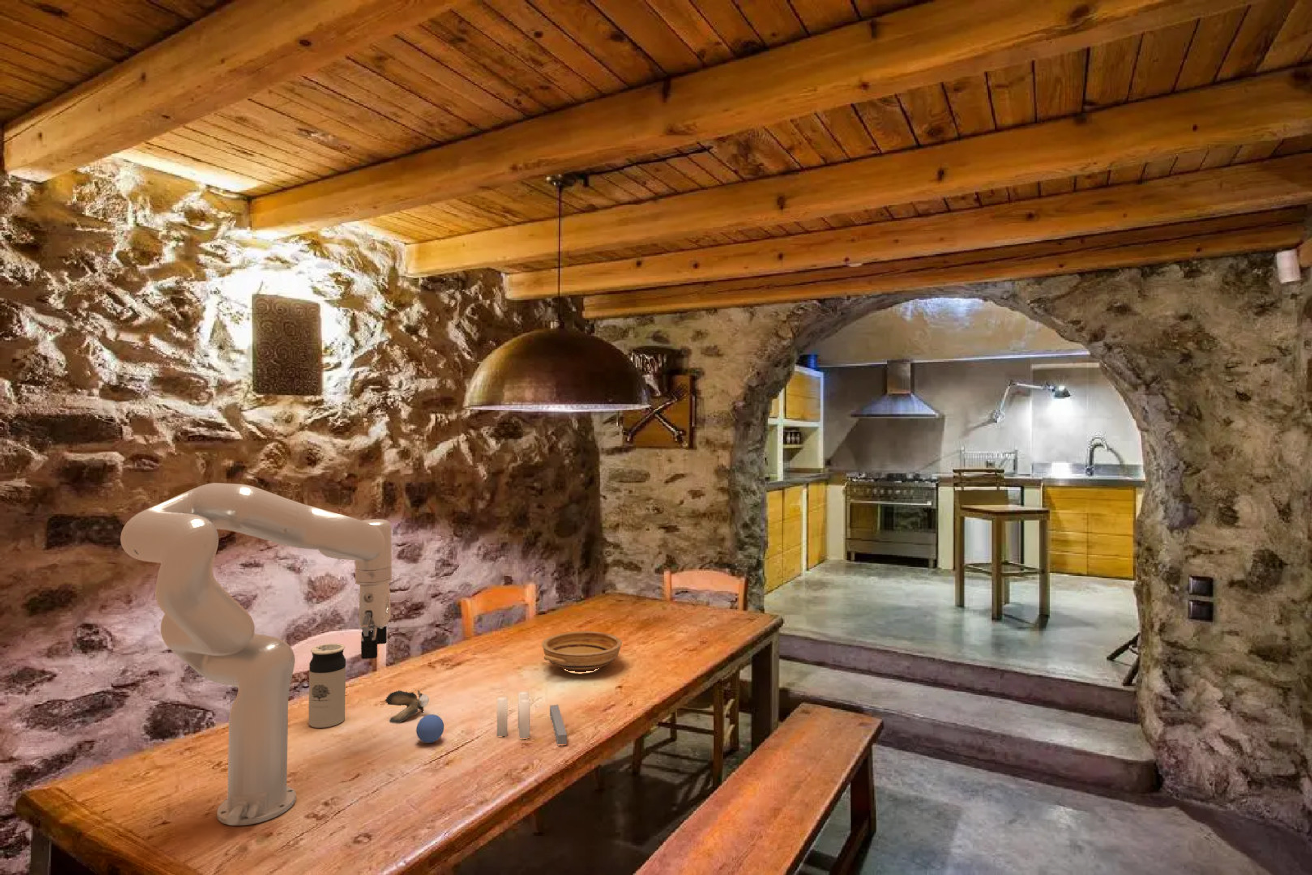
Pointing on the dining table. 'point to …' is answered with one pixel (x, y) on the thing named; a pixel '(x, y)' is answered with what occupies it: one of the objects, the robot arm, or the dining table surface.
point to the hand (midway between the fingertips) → (374, 650)
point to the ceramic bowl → (581, 650)
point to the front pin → (502, 716)
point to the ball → (430, 728)
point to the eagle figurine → (409, 701)
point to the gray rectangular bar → (558, 724)
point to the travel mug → (327, 686)
